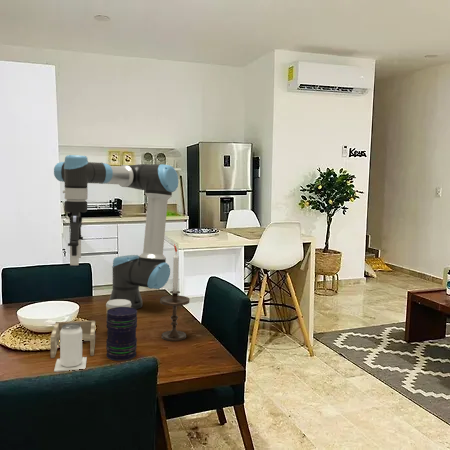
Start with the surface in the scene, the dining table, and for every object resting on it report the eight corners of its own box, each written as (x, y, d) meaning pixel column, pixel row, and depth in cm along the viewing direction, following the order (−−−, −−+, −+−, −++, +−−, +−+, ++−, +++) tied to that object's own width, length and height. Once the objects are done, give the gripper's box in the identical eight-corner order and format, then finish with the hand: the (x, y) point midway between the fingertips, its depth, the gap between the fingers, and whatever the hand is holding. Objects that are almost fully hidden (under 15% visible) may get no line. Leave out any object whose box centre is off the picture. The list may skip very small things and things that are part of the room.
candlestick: (159, 342, 164) (161, 246, 160) (159, 332, 174) (161, 241, 171) (189, 341, 165) (192, 246, 162) (187, 331, 176) (190, 242, 172)
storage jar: (141, 351, 155) (142, 308, 153) (129, 362, 145) (129, 316, 144) (114, 347, 157) (115, 305, 155) (100, 358, 147) (100, 313, 146)
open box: (55, 341, 161) (55, 322, 160) (95, 339, 164) (95, 320, 164) (50, 358, 146) (50, 336, 146) (93, 355, 150) (94, 334, 149)
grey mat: (57, 360, 145) (57, 358, 145) (86, 358, 147) (86, 357, 147) (54, 371, 136) (54, 370, 136) (85, 369, 139) (85, 368, 139)
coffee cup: (124, 338, 166) (125, 306, 165) (101, 336, 168) (101, 304, 167) (134, 330, 175) (135, 300, 174) (112, 328, 177) (112, 297, 176)
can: (64, 358, 145) (64, 322, 144) (85, 359, 145) (85, 323, 144) (56, 367, 139) (56, 329, 137) (78, 368, 139) (78, 329, 137)
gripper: (67, 198, 168) (67, 255, 170) (60, 202, 144) (60, 268, 146) (88, 198, 170) (88, 255, 172) (85, 202, 146) (85, 268, 148)
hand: (75, 261), depth 159 cm, fingers open, 13 cm apart
